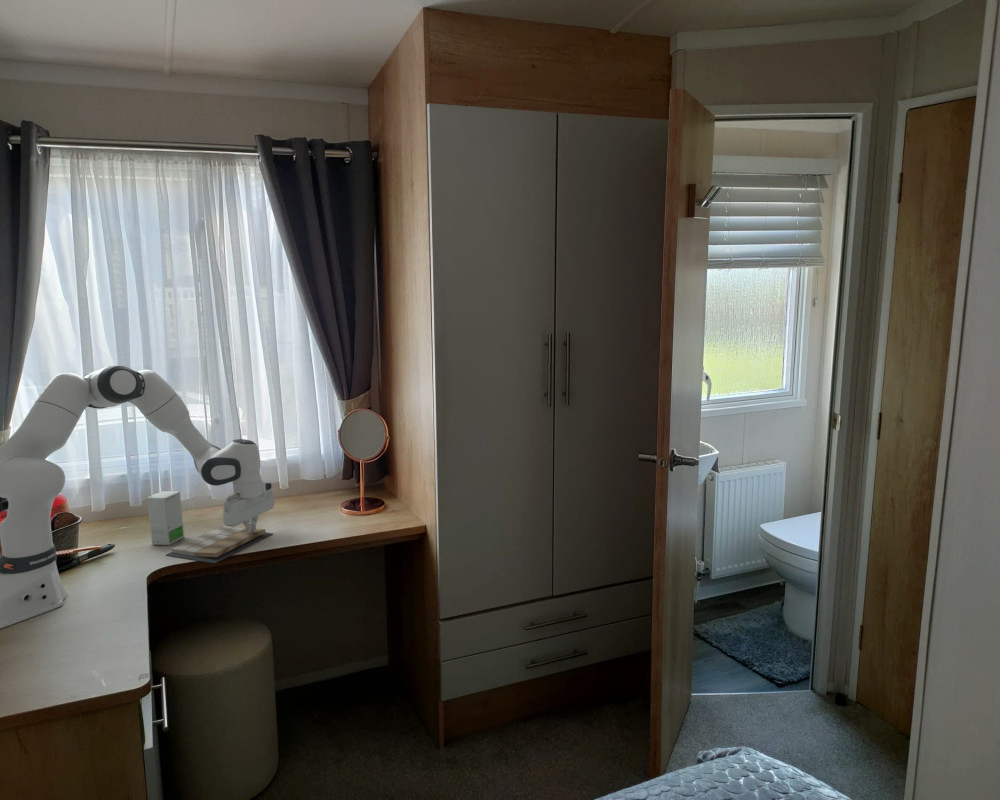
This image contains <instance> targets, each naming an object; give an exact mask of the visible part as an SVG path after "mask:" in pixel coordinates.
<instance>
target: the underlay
mask: <svg viewBox="0 0 1000 800" xmlns="http://www.w3.org/2000/svg"><path fill="white" fill-rule="evenodd" d="M272 535H274V534H273V533H271V532H266V533H264V534H262V535H260V536H258V537H256V538H254V539H252V540H250V541H248V542H246V543H244V544H242V545H240V546H238V547H236V548H234V549H232V550H230V551H228V552H226V553H224V554H222V555H220V556H218V557H200V556H190V555H184V554H178V553H172V551H169V552H168V553H166V554H165V556H166V557H167V556H168V557H173V558H177V557H178V558H179V559H184V560H189V561H197V562H202V563H208V564H212V565H213V564H214V565H215V564H217V563H219V562H221V561H223V560H225V559H228V557H231V556H232V555H235V554H237V553H239V552H241V551H243V550H244V549H246V548H248V547H251V546H253V545H254V544H257V543H258V542H260V541H262V540H264V539H267V538H269V537H270V536H272Z"/></svg>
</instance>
